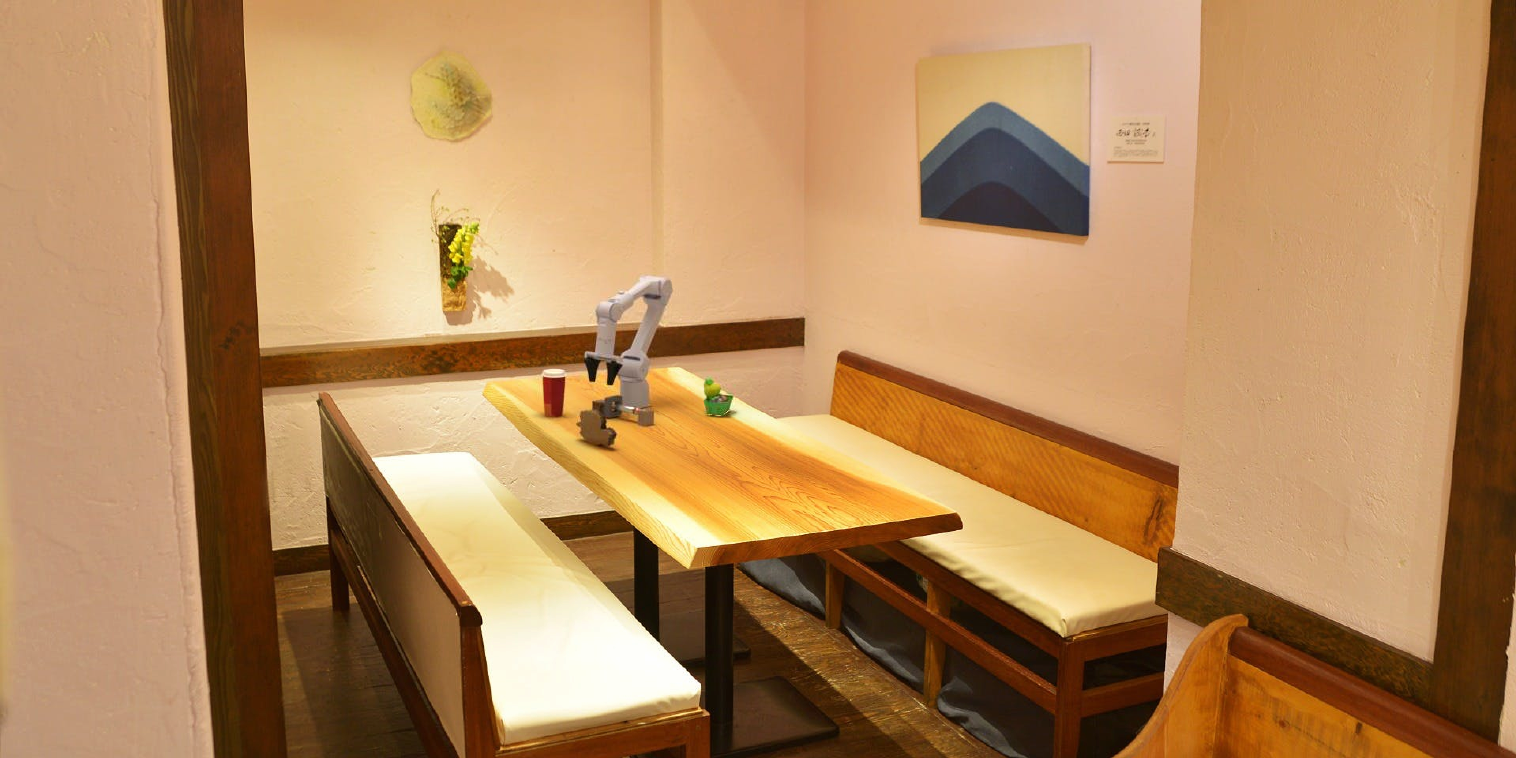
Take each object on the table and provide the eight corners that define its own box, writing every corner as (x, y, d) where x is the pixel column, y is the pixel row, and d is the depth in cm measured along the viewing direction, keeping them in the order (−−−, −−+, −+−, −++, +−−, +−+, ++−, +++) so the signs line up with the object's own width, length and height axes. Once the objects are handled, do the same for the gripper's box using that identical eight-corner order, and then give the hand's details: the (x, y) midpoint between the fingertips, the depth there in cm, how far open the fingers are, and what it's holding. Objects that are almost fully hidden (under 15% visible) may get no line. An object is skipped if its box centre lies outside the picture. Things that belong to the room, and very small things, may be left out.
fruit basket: (725, 418, 407) (727, 383, 405) (698, 416, 409) (699, 381, 407) (733, 410, 418) (735, 376, 416) (707, 408, 420) (708, 374, 418)
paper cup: (568, 413, 405) (569, 369, 403) (562, 418, 398) (563, 374, 395) (544, 411, 406) (544, 368, 403) (537, 416, 399) (538, 372, 396)
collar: (604, 416, 400) (604, 397, 399) (617, 413, 405) (617, 395, 404) (608, 417, 399) (609, 398, 398) (621, 414, 404) (622, 395, 403)
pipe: (592, 414, 405) (592, 400, 404) (601, 412, 408) (601, 398, 407) (645, 426, 392) (645, 411, 391) (653, 424, 395) (654, 409, 394)
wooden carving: (621, 448, 365) (622, 414, 363) (609, 451, 362) (610, 416, 360) (583, 437, 376) (583, 404, 374) (571, 440, 372) (571, 406, 370)
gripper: (579, 337, 402) (575, 380, 403) (614, 342, 394) (609, 386, 395) (595, 338, 408) (590, 380, 409) (629, 343, 400) (624, 386, 400)
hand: (600, 383), depth 402 cm, fingers open, 7 cm apart
